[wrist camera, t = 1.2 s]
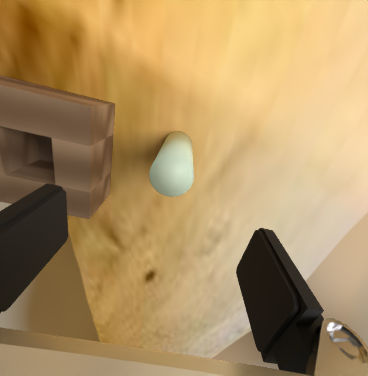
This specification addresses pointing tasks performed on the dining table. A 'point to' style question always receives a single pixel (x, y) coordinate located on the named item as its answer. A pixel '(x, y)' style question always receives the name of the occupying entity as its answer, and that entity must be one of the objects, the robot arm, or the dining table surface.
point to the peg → (173, 166)
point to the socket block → (55, 144)
